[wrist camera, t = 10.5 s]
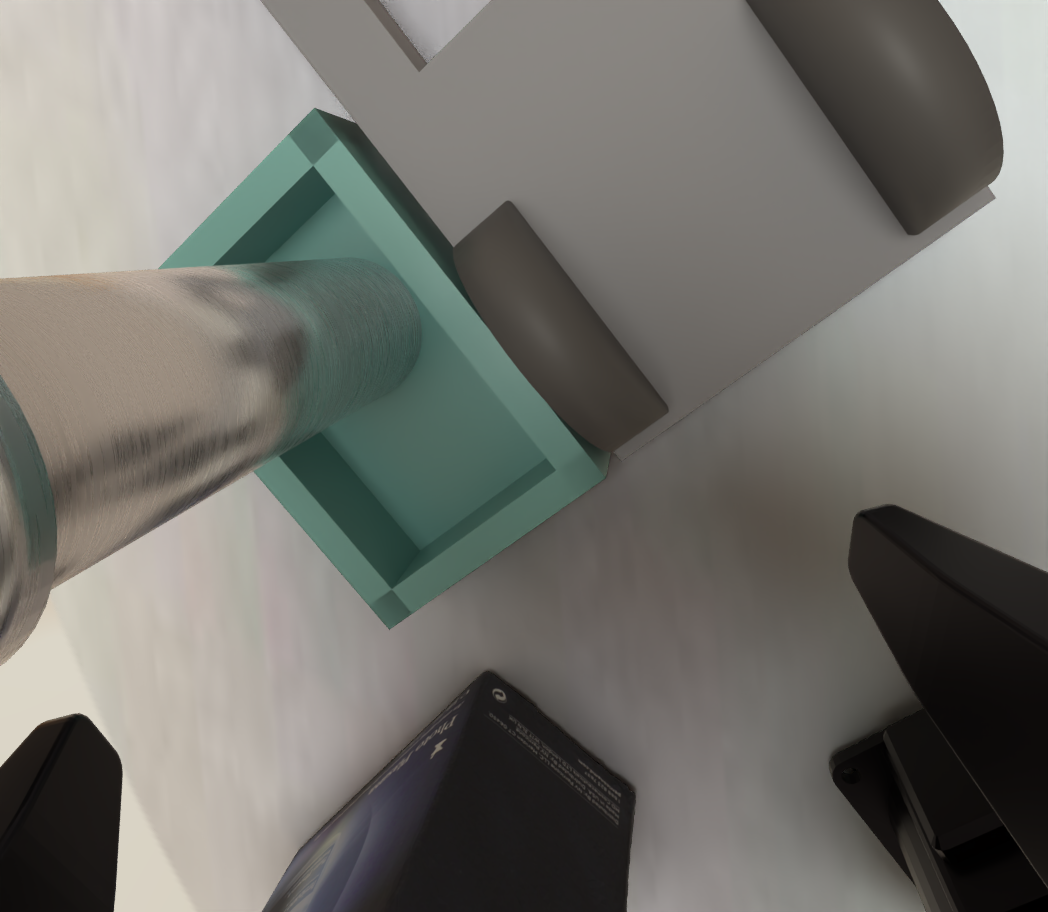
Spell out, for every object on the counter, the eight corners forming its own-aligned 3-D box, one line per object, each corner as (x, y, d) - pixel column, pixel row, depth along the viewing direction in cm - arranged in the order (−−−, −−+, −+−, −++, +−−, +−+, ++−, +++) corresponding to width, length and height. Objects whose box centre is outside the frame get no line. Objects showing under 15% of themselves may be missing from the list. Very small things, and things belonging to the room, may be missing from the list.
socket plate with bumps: (948, 202, 17) (1081, 189, 12) (625, 434, 20) (614, 507, 14) (503, -450, 15) (422, -821, 10) (213, -97, 18) (26, -236, 13)
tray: (613, 443, 20) (606, 477, 17) (423, 578, 22) (389, 629, 19) (366, 127, 19) (314, 107, 16) (190, 301, 21) (116, 311, 18)
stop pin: (467, 298, 19) (29, 442, 6) (390, 443, 20) (-108, 838, 7) (315, 207, 19) (-492, 129, 6) (248, 358, 20) (-527, 589, 7)
